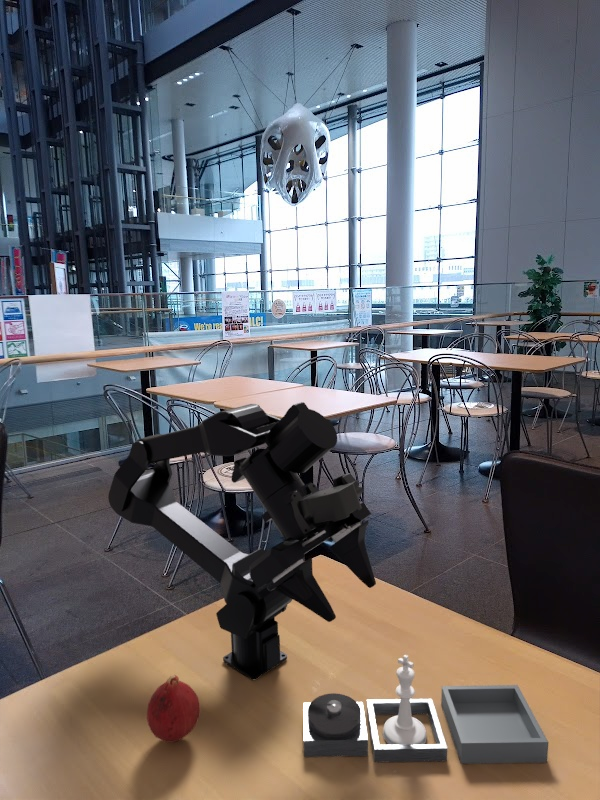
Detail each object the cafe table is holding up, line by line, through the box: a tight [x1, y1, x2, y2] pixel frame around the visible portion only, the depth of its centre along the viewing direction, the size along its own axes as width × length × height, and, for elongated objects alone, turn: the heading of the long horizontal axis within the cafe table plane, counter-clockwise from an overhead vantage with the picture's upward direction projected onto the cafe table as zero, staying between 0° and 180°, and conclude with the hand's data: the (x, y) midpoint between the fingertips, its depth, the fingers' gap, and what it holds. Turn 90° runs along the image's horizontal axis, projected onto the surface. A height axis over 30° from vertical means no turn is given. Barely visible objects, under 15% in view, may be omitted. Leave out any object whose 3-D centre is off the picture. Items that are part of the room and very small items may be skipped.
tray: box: [440, 684, 549, 765], centre depth 68 cm, size 9×9×2 cm
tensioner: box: [303, 693, 448, 763], centre depth 68 cm, size 15×8×4 cm, turn 90°
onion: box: [146, 674, 201, 743], centre depth 67 cm, size 6×6×8 cm
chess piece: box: [382, 654, 428, 745], centre depth 67 cm, size 5×5×10 cm
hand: (353, 602), depth 70 cm, fingers open, 9 cm apart
